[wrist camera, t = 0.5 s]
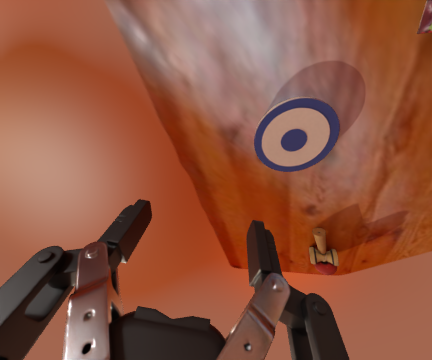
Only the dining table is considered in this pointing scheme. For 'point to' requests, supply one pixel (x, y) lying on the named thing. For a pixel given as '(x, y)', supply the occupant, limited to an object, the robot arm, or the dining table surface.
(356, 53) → the dining table surface
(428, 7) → the juice carton
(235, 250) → the dining table surface
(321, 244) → the kendama
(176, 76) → the dining table surface
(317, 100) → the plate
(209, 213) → the dining table surface
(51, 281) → the robot arm
